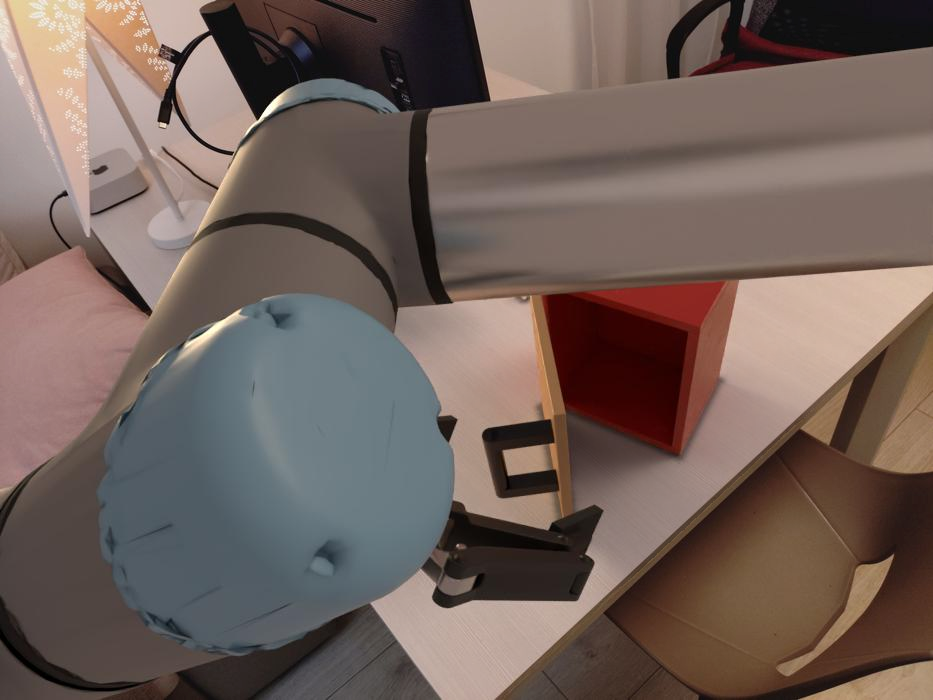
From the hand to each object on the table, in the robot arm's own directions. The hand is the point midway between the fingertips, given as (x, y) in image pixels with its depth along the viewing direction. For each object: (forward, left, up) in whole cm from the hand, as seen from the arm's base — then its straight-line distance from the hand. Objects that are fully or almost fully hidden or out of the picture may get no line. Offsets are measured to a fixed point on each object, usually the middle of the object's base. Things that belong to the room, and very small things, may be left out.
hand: (515, 474), depth 47 cm
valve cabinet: (+1, -26, -20) cm, 32 cm away
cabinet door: (+7, -11, -19) cm, 23 cm away
